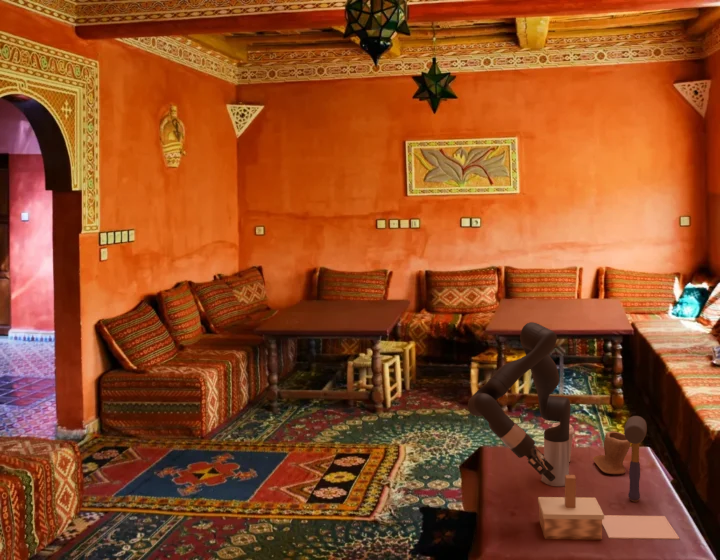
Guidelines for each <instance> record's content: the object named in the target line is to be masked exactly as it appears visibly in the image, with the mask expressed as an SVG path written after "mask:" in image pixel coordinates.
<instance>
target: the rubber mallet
mask: <svg viewBox="0 0 720 560" xmlns="http://www.w3.org/2000/svg"><path fill="white" fill-rule="evenodd" d="M647 426H648V425H647V421H646V419H644V418H643V417H642V416H639V415H632V416H631V417H629V418H628V419H627V421H626V423H625V425H624V430H623V431H624V432H623V434H624V435H625V438H626V439H627V440H628V441H629V442H630V444H631V459H630V462H629V471H628V472H629V473H628V476H629V490H628V495H627V496H628V499H629V500H630V501H631V502H634V503H636V502H639V500H640V499H641V494H640V493H641V492H640V481H641V480H640V478H641V463H640V444H641V443H642V442H643V441H644V439H645V438H646V436H647V432H648V428H647Z"/></svg>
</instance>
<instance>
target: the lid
mask: <svg viewBox="0 0 720 560" xmlns="http://www.w3.org/2000/svg"><path fill="white" fill-rule="evenodd" d="M576 488H577V478H576V475H575V474H569V475H565V486H564V497H563V496H562V497H561V496H558V497H557V496H554V497H553V496H538V497H537V503H538V507H539V510H540V509H541V512H542V515H543V519H602V520H604V515H605V514H604V511H603V510H602V507H601V506H600V504H599V502H598V500H597V498H596V497H578V496H577V491H576V490H577V489H576Z"/></svg>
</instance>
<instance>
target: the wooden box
mask: <svg viewBox="0 0 720 560" xmlns="http://www.w3.org/2000/svg"><path fill="white" fill-rule="evenodd" d="M538 520H539V524H540V527H541V531H542V534H543V537H544V539H545V540H591V541H592V540H595V541H596V540H603V536H602V535H603V525H602V519H543V515H542V512H541V509H540V508H539V519H538Z"/></svg>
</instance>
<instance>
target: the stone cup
mask: <svg viewBox="0 0 720 560" xmlns="http://www.w3.org/2000/svg"><path fill="white" fill-rule="evenodd" d="M630 445H631V443H630V442H629V441H628V440H627V439H626V438H625V434H624V433H621V432H618V431H608V432H607V433H606V434H605V436H604V441H603V451H604V454H600V455H599V454H598V455H596V456H594V457H593V458H592V459H593V462H594V463H595V465H596V466H597V467H598V468H599V469H600V470H601V472H603V473H605V474H607V475H620V474H621V475H622V474H625V473H626V468H625V466H624V460H625V458H626V456H627V454H628V452H629V450H630V447H631V446H630Z"/></svg>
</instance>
